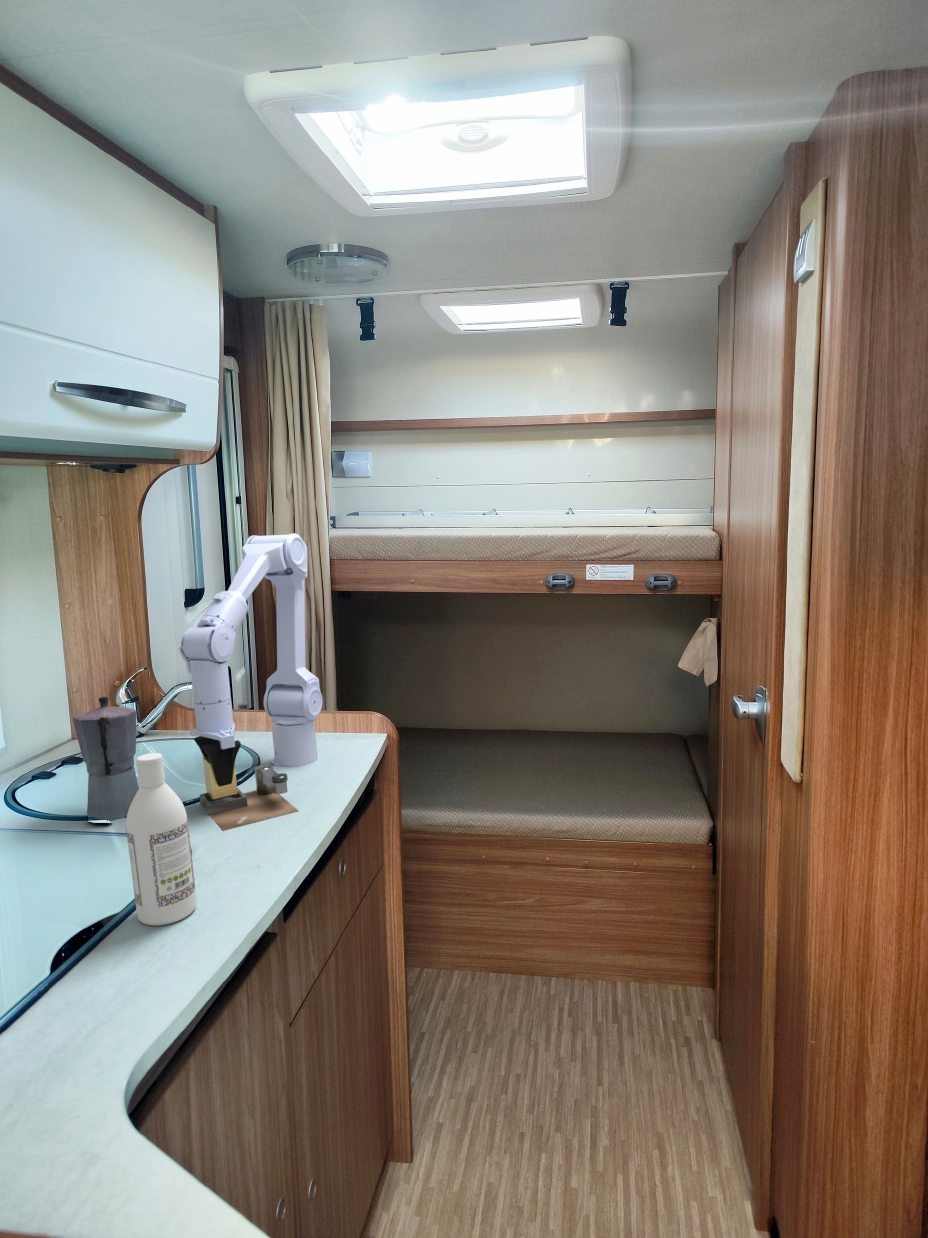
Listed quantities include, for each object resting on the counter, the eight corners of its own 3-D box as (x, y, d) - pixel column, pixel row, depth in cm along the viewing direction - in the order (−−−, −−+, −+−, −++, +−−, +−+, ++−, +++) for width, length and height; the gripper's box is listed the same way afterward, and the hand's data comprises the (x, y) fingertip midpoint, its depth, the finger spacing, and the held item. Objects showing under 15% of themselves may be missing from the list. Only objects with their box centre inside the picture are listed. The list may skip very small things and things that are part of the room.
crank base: (201, 809, 131) (199, 794, 131) (271, 792, 137) (270, 778, 137) (223, 837, 119) (221, 820, 119) (299, 817, 125) (298, 801, 125)
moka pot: (145, 796, 139) (132, 685, 136) (152, 826, 125) (137, 703, 122) (85, 808, 135) (70, 694, 132) (86, 840, 121) (69, 713, 118)
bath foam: (208, 900, 100) (191, 747, 97) (177, 929, 93) (158, 766, 90) (159, 897, 101) (141, 747, 98) (125, 926, 95) (104, 765, 92)
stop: (206, 792, 130) (202, 757, 129) (230, 787, 132) (227, 752, 131) (212, 799, 126) (208, 763, 126) (237, 793, 129) (234, 758, 128)
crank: (254, 791, 135) (251, 762, 134) (271, 787, 136) (269, 758, 136) (275, 810, 125) (272, 780, 125) (293, 806, 127) (291, 775, 126)
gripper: (177, 696, 131) (185, 774, 133) (197, 713, 119) (207, 799, 121) (219, 689, 135) (227, 765, 137) (244, 704, 122) (252, 788, 124)
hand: (221, 780), depth 129 cm, fingers closed on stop, 4 cm apart
